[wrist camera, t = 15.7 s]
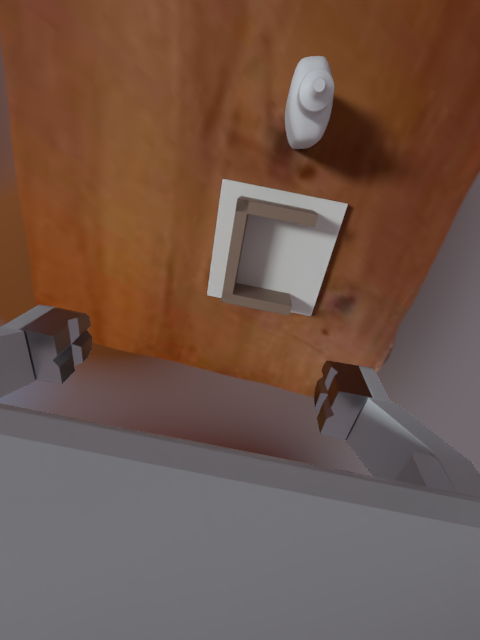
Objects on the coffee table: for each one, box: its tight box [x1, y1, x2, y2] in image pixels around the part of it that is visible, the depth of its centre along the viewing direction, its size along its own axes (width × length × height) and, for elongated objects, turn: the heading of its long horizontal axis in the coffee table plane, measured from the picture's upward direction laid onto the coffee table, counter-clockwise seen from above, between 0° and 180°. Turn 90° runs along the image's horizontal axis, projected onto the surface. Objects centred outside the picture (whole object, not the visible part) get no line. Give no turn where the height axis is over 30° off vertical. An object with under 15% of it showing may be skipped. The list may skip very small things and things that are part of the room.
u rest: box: [207, 179, 348, 316], centre depth 33 cm, size 14×14×5 cm
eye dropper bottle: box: [285, 56, 335, 149], centre depth 24 cm, size 4×6×12 cm
